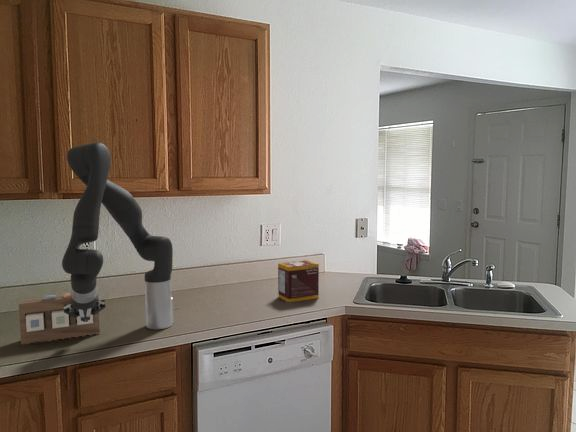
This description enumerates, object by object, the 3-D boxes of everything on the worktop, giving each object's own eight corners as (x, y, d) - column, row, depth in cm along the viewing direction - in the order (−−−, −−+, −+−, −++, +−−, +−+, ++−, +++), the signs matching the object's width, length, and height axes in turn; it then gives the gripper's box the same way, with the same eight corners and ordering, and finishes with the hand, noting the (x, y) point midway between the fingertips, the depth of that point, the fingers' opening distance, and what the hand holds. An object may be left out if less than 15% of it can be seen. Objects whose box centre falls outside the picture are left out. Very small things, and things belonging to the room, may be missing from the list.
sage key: (53, 324, 158) (52, 310, 157) (69, 322, 160) (68, 308, 159) (52, 328, 153) (51, 314, 153) (69, 326, 155) (68, 312, 155)
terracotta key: (77, 321, 161) (76, 307, 160) (92, 319, 163) (92, 305, 162) (77, 325, 156) (76, 311, 156) (93, 323, 159) (92, 309, 158)
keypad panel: (22, 339, 157) (20, 297, 156) (99, 329, 167) (97, 289, 166) (21, 345, 152) (18, 301, 151) (99, 334, 162) (97, 293, 161)
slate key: (27, 327, 154) (26, 313, 154) (44, 325, 157) (43, 311, 156) (26, 332, 150) (25, 317, 150) (43, 329, 152) (43, 315, 152)
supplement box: (319, 298, 206) (319, 263, 204) (288, 302, 199) (288, 267, 198) (307, 292, 215) (307, 259, 214) (278, 297, 208) (277, 263, 207)
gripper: (106, 279, 148) (105, 307, 160) (60, 284, 142) (63, 312, 154) (108, 300, 143) (107, 326, 156) (60, 305, 138) (63, 332, 150)
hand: (85, 319), depth 155 cm, fingers closed
